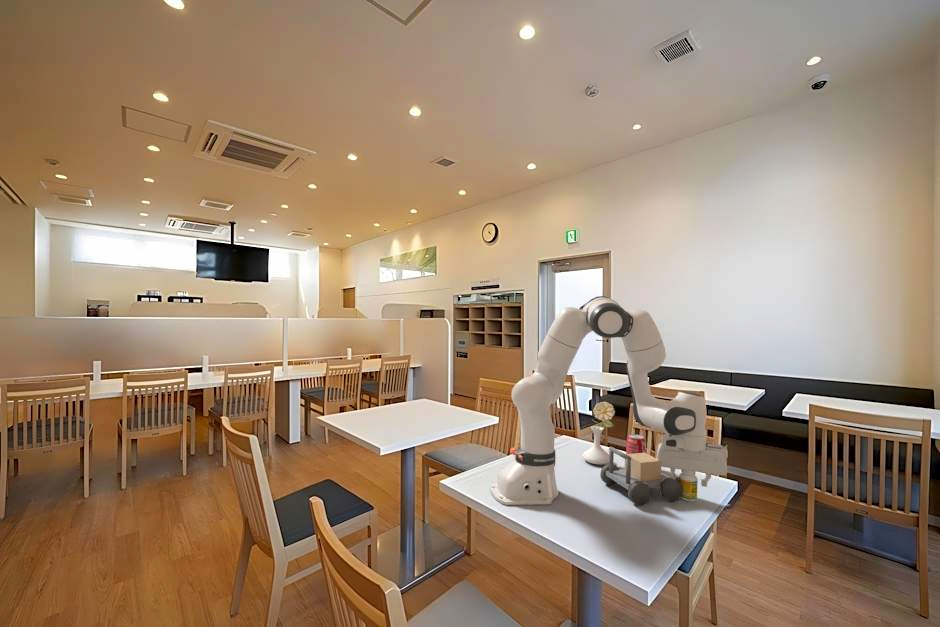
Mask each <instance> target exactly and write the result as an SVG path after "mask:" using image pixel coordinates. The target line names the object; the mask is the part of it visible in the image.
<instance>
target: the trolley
mask: <svg viewBox="0 0 940 627" xmlns="http://www.w3.org/2000/svg"><path fill="white" fill-rule="evenodd" d="M608 454H609V463H608V464H604V465H603V467H602V468H601V470H600V479H601V481H602V482H603V483H605V484H606V485H608V486H610V487H613V486H612V485H614V486H615V485H616V486H617V484H618V485H620V486H621V487H623V488H624V489H626V490H627V497H628V500H630V502H632V503H633V504H635V506H638V507H643V506H646V504H648V503H649V501H651V497H652V491H651V490H652V489H654V488H659V492H660V495H661V497H662V498H663V499H665V500H666V501H668V502H670V503H675V502H677V501H678V500H680V499H681V498H680V497H681V495H682V492H683V488H682V485H681V483H680V482H679V481H677V480H675V479H674V477H670V476H668V475H666V474H665V473H662V467H661V460H657V459H656V457H654V456H653V455H650V454H649V453H647V452H646V453H634V454H626V453H624V452H622V451H620V450H619V449H616V448H615V447H613V446H609V447H608ZM614 454H615V455H618V456H619V457H621V458H623V459H624V469H623V468H621V469H620V467H619V466H617V465H616V464H614V460H615V459H614ZM651 488H652V489H651Z"/></svg>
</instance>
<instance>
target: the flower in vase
mask: <svg viewBox="0 0 940 627" xmlns="http://www.w3.org/2000/svg"><path fill="white" fill-rule="evenodd" d="M592 412H593V415H594V418H596V419H597V420H600V421H601V424H599V426H597V425H594V426H591V427H590V428H591V430H592V431H593V437H594V438H593V439H594V440H593V446H592V447H590V448H589V449H586V450H585V451H584V453H583V454H582V459H583V460H584V461H585V462H588V463H590V464H594V465H600V466H601V465H603V466H604V465H606V464H609V452H607V451H606V450H605V449H604V448H602V445H601V435H602V433H603V431H604V430H605V428H604V427H602V425H604V426H605V427H606V428H612V427H615V425H614V424H613V423H612V422H611V421H610V420H612V418H613V417H614V416H615V414H616V410H615V408H614V405H612V404H611V403H609V402H606V401H603V402H602V401H600V402H598V403H596V405H594V408H593V411H592ZM592 421H593V422H594V423H596V424H598V422H597V421H595V420H594V419H592Z"/></svg>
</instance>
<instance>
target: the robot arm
mask: <svg viewBox="0 0 940 627" xmlns="http://www.w3.org/2000/svg"><path fill="white" fill-rule="evenodd" d="M592 332H593V333H594V334H596V335H597V336H599V337H602V338H607V339H612V338H620V339H621V340H622V343H623V346H624V350H625V353H626V356H627V361H626V373H627V378H628V382H629V387H630V391H631V396H632V403H633V404H632V406H633V408H632V409H633V416H634V419H635V421H636V422H637V423H638V425H640V426H642V427H646V428H648V429H649V428H650V429H653V430H655V431H659V432H661V433H664V434H662V435H661V436H660V443H658V446H657V448H656V449H657V450H656V457H655V458H656V459H657V460H661V468H667V469H668V468H669V469H670V470H669V471H670V473H671V474H672V476H673V478H674V479H675V480H677V481H679V475H677V474H676V470H680V471H681V470H689V471H694V472H695V473H703V474H705V477H704V479H703V478H701V479H700V480H701V482H700V484H701V486H702V487H706V488H708V482H709V481H710V480H711V478H712V475H715V476H716V475H717V476H724V477H725V476H726V475H727V474H728V467H727V466H728V465H727V464H728V463H727V459H728V456H729V455H728V454H729V452H728V449H727V447H725V446H723V445H722V444H714V443H707V431H706V423H707V405H706V399H705V398H704V396H702V395H701V394H699V393H695V392H690V391H685V390H682V391H681V390H680V391H678V392H677V395H676V396H675V397H674V398H673V399H671V400H669V401H664V400H660V399H658V398H656V397H655V396H654V395H653V394H652V391H651V386H650V383H649V378H648V373H651V372H653V371H655V370H657V369H658V368H660V367H661V366H662V365H663V364H664V362H665V360H666V357H667V354H666V346H665V344H664V342H663V339H662V336H661V334H660V331H659V327H658V326H657V324H656V322H655V321H654V319H653V317H652V316H651V315H650V313H649V312H648V311H645V310H642V309H633V310H629V311H626V310H625V308H623V307H622V306H621V305H620V304H619V303H618V302H617V301H616V300H614V299H612V298H610V297H607V296H604V295H601V296H594V297H593V298H592V299H590V300H588V301H587V302H586V303H584V304H583V305H581V306H580V307H579V308H577V307H574V306H573V307H572V306H567V307H564V308H563V309H561V311H559V313H558V314H557V315H556V317H555V319H554V320H553V322H552V323H551V326H550V327H549V329H548V331H547V333H546V335H545V336H544V339H543V342H542V344H541V346H540V347H539V350H538V352H537V363H536V368H535V371H534V372H533V373H532V375H530V376H526V377H522V379H520V380H519V381H518V382H516V384H514V386H513V387H512V389H511V393H510V394H511V401H512V403H513V405H514V407H516V409H517V411H518V417H519V421H520V447H519V449H516V448H515V447H511V448H510V449H509V450H510V451H509V452H510V453H511V454H512V455H513V456H514V457H515V458H514V459H513V460H512V461H511V462H509V463H508V464H507V465H506V466H505V467H503V468H502V469H501V470H500V471H499V473H498V474H497V481H496V482H494V483H491V485H490V493H491V496H493V498H494V499H495V500H496V501H498V503H501V504H503V505H504V506H505V505H506V506H515V505H516V506H525V505H528V506H529V505H552V503H553V501H554V500H555V499H556V498H557V497H558V496H559V490H558V486H557V480H556V470H555V466H556V449H555V425H554V424H553V422H552V418H551V413H550V405H551V404H554V403H556V402H557V401H558V400H559V399H560V397H561V396H562V394H563V391H564V386H565V382H566V379H567V376H568V373H569V370H570V367H571V365H572V363H573V361H574V359H575V357H576V354H578V353H577V352H578V351H579V349H580V347H581V345H582V343H583V340H584V339H585V338H586V337H587V335H589V333H592Z"/></svg>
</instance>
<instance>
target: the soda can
mask: <svg viewBox="0 0 940 627" xmlns="http://www.w3.org/2000/svg"><path fill="white" fill-rule="evenodd" d="M646 444H647V443H646V440H645V436H644V435H641V434H636V433H630V434H628V437H627V438H626V444H625V445H626V446H625V447H626V452H625V454H634V453H646V454H647V451H646V450H647V447H646V446H647V445H646Z"/></svg>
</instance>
